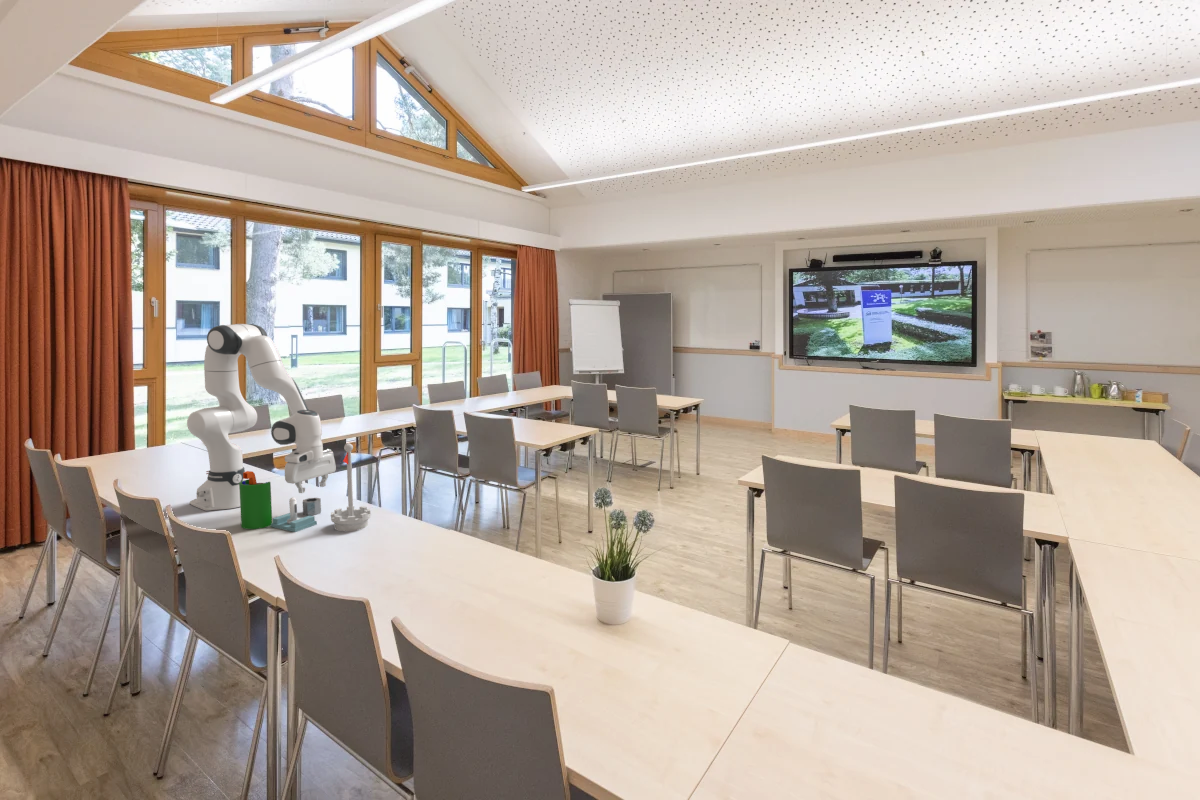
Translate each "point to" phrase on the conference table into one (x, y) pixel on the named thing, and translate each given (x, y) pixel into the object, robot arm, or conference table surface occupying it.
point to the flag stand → (350, 504)
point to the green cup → (255, 502)
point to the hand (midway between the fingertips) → (312, 489)
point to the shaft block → (293, 520)
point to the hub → (311, 506)
